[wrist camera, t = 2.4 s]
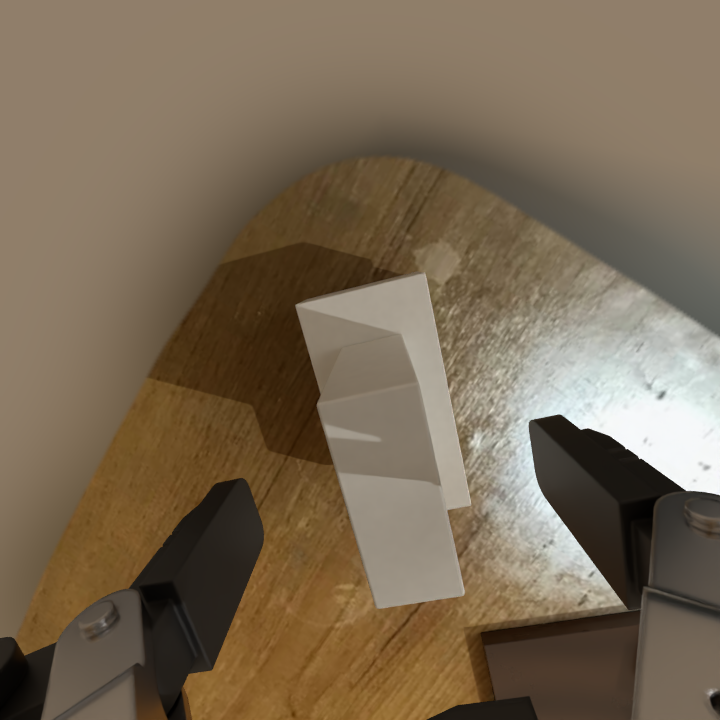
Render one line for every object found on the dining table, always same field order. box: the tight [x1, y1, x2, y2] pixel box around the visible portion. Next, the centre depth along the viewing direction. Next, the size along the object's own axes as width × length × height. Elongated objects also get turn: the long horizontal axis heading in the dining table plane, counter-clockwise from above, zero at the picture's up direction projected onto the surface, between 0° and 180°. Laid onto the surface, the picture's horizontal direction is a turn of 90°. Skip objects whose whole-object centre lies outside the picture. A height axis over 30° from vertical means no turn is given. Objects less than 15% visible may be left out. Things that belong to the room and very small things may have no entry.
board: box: [481, 611, 641, 720], centre depth 22 cm, size 12×16×1 cm
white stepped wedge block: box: [295, 272, 471, 609], centre depth 14 cm, size 5×10×10 cm, turn 14°
